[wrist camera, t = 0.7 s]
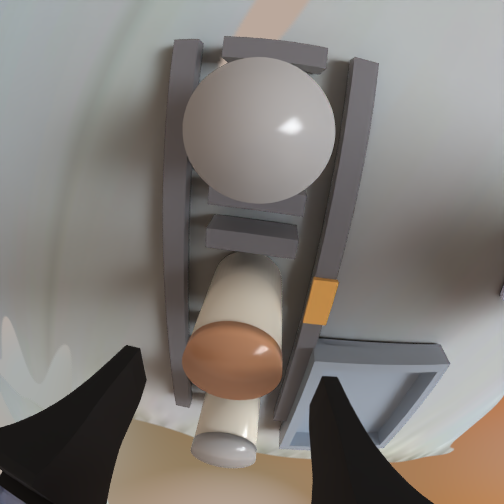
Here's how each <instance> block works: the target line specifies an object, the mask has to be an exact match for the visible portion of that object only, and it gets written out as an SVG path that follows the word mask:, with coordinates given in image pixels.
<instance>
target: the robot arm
mask: <svg viewBox="0 0 504 504" xmlns="http://www.w3.org/2000/svg"><path fill="white" fill-rule="evenodd" d="M500 298H501V299H502V300H504V286H503V288H502V290H501V293H500ZM145 384H146V375H145V370H144V366H143V361H142V356H141V350H140V348H136V347H132V346H128V345H126V346H125V347H124V348H122V349H121V350H120V351H119V352H118V353H117V354H116V355H115V356H114V357H113V358H112V359H111V360H110V361H109V362H107V363H106V364H105V365H104V366H103V367H102V368H101V369H100V370H99V371H97V372H96V373H95V374H94V375H93V376H92V377H91V378H89V379H88V380H87V381H86V382H84V383H83V384H82V385H81V386H79V387H78V388H77V389H75V390H74V391H73V392H71V393H70V394H69V395H67V396H66V397H64V398H63V399H61V400H60V401H58V402H57V403H55V404H54V405H52V406H50V407H48V408H47V409H45V410H43V411H41V412H39V413H37V414H35V415H33V416H31V417H28V418H26V419H24V420H21V421H19V422H16V423H14V424H11V425H7V426H4V427H1V428H0V469H1V470H2V473H1V475H0V504H107V498H108V492H109V488H110V483H111V478H112V474H113V470H114V466H115V463H116V459H117V455H118V452H119V449H120V446H121V443H122V440H123V439H124V436H125V434H126V432H127V429H128V427H129V425H130V423H131V421H132V418H133V416H134V414H135V412H136V409H137V407H138V405H139V403H140V400H141V397H142V394H143V390H144V387H145ZM309 436H310V448H311V460H312V473H313V485H312V502H311V504H434V503H432V502H431V501H430V500H428V499H427V498H426V497H424V496H423V495H422V494H420V493H419V492H418V491H417V490H416V489H414V488H413V487H412V486H411V485H410V484H409V483H408V482H407V481H406V480H405V479H404V478H403V477H402V476H401V475H400V474H399V473H398V472H397V471H396V470H395V469H394V468H393V467H392V466H391V464H390V463H389V462H388V461H387V460H386V458H385V457H384V456H383V454H382V453H381V452H380V451H379V449H378V448H377V446H376V445H375V444H374V442H373V441H372V439H371V438H370V436H369V435H368V433H367V431H366V430H365V428H364V427H363V425H362V423H361V421H360V420H359V418H358V416H357V414H356V413H355V411H354V409H353V407H352V405H351V403H350V401H349V399H348V397H347V395H346V393H345V391H344V389H343V387H342V385H341V383H340V381H339V379H338V377H334V376H322V377H321V380H320V382H319V384H318V387H317V389H316V391H315V394H314V396H313V398H312V400H311V403H310V405H309Z"/></svg>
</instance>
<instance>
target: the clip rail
mask: <svg viewBox="0 0 504 504" xmlns="http://www.w3.org/2000/svg"><path fill="white" fill-rule="evenodd" d="M203 45H204V43H203V42H202V41H200V40H199V39H179V40H174V47H173V55H172V63H171V71H170V81H169V91H168V102H167V114H166V128H165V146H164V169H163V259H164V284H165V302H166V316H167V329H168V341H169V351H170V361H171V370H172V378H173V386H174V394H175V401H176V405H179V406H183V407H188V408H190V404H191V401H192V391H191V381H190V379H189V378H188V377H187V376H186V374H185V372H184V369H183V366H182V357H183V353H184V350H185V348H186V345H187V342H188V340H189V304H188V261H189V217H190V192H191V173H192V164H191V162H190V161H189V158H188V156H187V153H186V150H185V146H184V142H183V118H184V113H185V110H186V106H187V104H188V102H189V99H190V97H191V95H192V94H193V92H194V90H195V89H196V88H197V86H198V85H199V77H200V69H201V61H202V53H203ZM327 54H328V48H325V47H320V46H315V45H309V44H303V43H296V42H289V41H281V40H272V39H262V38H249V37H231V36H224V42H223V49H222V58H223V59H225V60H226V61H227V62H228V63H230V62H232V61H235V60H239V59H243V58H250V57H267V58H273V59H278V60H281V61H285V62H287V63H290V64H292V65H294V66H296V67H298V68H299V69H301V70H302V71H304V72H308V73H314V74H321V73H322V72H323V71H324V70H325V69H326V62H327ZM378 67H379V63H375V62H372V61H368V60H364V59H360V58H356V57H354V58H353V59H351V60H350V64H349V72H348V80H347V88H346V96H345V103H344V110H343V117H342V124H341V130H340V137H339V143H338V149H337V155H336V161H335V166H334V172H333V177H332V183H331V188H330V193H329V198H328V204H327V209H326V213H325V218H324V223H323V228H322V233H321V237H320V242H319V246H318V251H317V255H316V260H315V264H314V268H313V272H312V277H311V281H310V285H309V289H308V293H307V297H306V301H305V305H304V309H303V313H302V317H301V320H300V324H299V328H298V332H297V335H296V339H295V343H294V346H293V350H292V353H291V357H290V360H289V364H288V367H287V371H286V374H285V377H284V381H283V384H282V387H281V391H280V394H279V397H278V400H277V403H276V407H275V410H274V420H275V421H287V418H288V416H289V413H290V411H291V408H292V406H293V403H294V401H295V398H296V395H297V393H298V390H299V387H300V385H301V382H302V379H303V376H304V374H305V371H306V368H307V365H308V362H309V360H310V357H311V354H312V351H313V348H315V346H316V344H317V341H318V338H319V335H320V331H321V328H322V325H326V323H327V320H328V317H329V314H330V310H331V307H332V304H333V301H334V298H335V294H336V291H337V288H338V284H339V282H338V280H336V279H337V275H338V272H339V268H340V265H341V261H342V257H343V253H344V250H345V246H346V242H347V238H348V234H349V230H350V226H351V221H352V217H353V213H354V209H355V204H356V200H357V195H358V190H359V186H360V181H361V176H362V171H363V166H364V161H365V155H366V150H367V144H368V139H369V133H370V126H371V120H372V114H373V107H374V100H375V92H376V84H377V76H378ZM306 198H307V195H306V192H305V190H303V191H301V192H300V193H298V194H297V195H294V196H292V197H290V198H288V199H285V200H281V201H278V202H273V203H264V204H255V203H246V202H241V201H237V200H234V199H231V198H229V197H227V196H224V195H222V194H221V193H219V192H217V191H216V190H214V189H213V188H212V187H210V186H209V194H208V204H211V205H219V206H228V207H236V208H243V209H251V210H259V211H266V212H273V213H280V214H287V215H294V216H301V217H303V215H304V210H305V204H306ZM298 242H299V238H298V231H297V225H291V224H284V223H277V222H270V221H262V220H255V219H247V218H240V217H232V216H224V215H216V214H215V215H214V216H213V218H212V220H211V221H210V223H209V225H208V226H207V228H206V247H209V248H217V249H224V250H231V251H238V252H246V253H253V254H260V255H267V256H275V257H282V258H289V259H295V258H296V253H297V247H298Z"/></svg>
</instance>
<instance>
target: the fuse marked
mask: <svg viewBox="0 0 504 504" xmlns="http://www.w3.org/2000/svg"><path fill="white" fill-rule="evenodd" d="M281 351H282V276H281V273H280V270H279V268H278V267H277V265H276V264H275V263H274V262H273V261H272V260H271V259H270V258H268V257H267V256H265V255H260V254H253V253H246V252H236V253H233V254H230V255H228V256H227V257H225V258H224V259H223V260H222V261H221V262H220V263H219V265H218V266H217V269H216V271H215V274H214V276H213V279H212V281H211V284H210V287H209V289H208V292H207V295H206V297H205V300H204V303H203V305H202V308H201V311H200V313H199V316H198V319H197V321H196V324H195V327H194V329H193V332H192V335H191V336H190V338H189V340H188V342H187V345H186V348H185V350H184V353H183V357H182V366H183V369H184V372H185V374H186V376H187V377H188V378H189V379H190V381H191V382H192V383H193V384H195V385H196V386H197V387H198V388H200V389H201V390H203V391H205V392H207V393H209V394H211V395H214V396H217V397H220V398H224V399H230V400H250V399H255V398H259V397H262V396H264V395H266V394H268V393H270V392H271V391H272V390H274V389H275V388H276V387H277V386H278V384H279V383H280V381H281V378H282V361H283V359H282V352H281Z"/></svg>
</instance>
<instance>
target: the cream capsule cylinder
mask: <svg viewBox="0 0 504 504" xmlns="http://www.w3.org/2000/svg"><path fill="white" fill-rule="evenodd" d="M183 142H184V146H185V150H186V153H187V156H188V158H189V161H190V162H191V164H192V166H193V168H194V169H195V171H196V172H197V173H198V175H199V176H200V177H201V178H202V179H203V180H204V181H205V182H206V183H207V184H208V185H209V186H210V187H212V188H213V189H214V190H216V191H217V192H219V193H221V194H222V195H224V196H227V197H229V198H231V199H234V200H237V201H241V202H246V203H255V204H264V203H273V202H278V201H281V200H285V199H288V198H290V197H292V196H294V195H297V194H298V193H300V192H301V191H303V190H305V189H306V188H307V187H308V186H310V185H311V184H312V183H313V182H314V181H315V180H316V179H317V178H318V177H319V175H320V174H321V173H322V171H323V170H324V168H325V167H326V165H327V163H328V161H329V159H330V156H331V154H332V151H333V146H334V142H335V121H334V115H333V111H332V108H331V105H330V103H329V101H328V99H327V97H326V95H325V93H324V92H323V90H322V89H321V87H320V86H319V85H318V84H317V83H316V82H315V81H314V79H313V78H311V77H310V76H309V75H308V74H307V73H305V72H304V71H302V70H301V69H299V68H298V67H296V66H294V65H292V64H290V63H287V62H285V61H281V60H278V59H273V58H267V57H250V58H243V59H239V60H235V61H232V62H230V63H227V64H225V65H223V66H221V67H219V68H217V69H216V70H214V71H213V72H212V73H210V74H209V75H208V76H207V77H206V78H205V79H203V80H202V81H201V83H200V84H199V85H198V86H197V88H196V89H195V90H194V92H193V94H192V95H191V97H190V99H189V102H188V104H187V106H186V110H185V113H184V118H183Z"/></svg>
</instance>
